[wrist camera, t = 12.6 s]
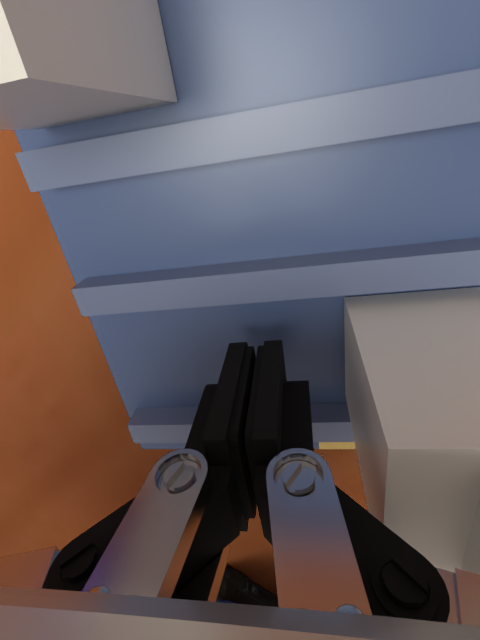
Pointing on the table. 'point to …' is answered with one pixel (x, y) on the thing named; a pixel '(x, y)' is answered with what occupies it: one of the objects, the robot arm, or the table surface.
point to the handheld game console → (243, 590)
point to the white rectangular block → (419, 417)
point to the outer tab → (80, 61)
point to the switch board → (269, 194)
